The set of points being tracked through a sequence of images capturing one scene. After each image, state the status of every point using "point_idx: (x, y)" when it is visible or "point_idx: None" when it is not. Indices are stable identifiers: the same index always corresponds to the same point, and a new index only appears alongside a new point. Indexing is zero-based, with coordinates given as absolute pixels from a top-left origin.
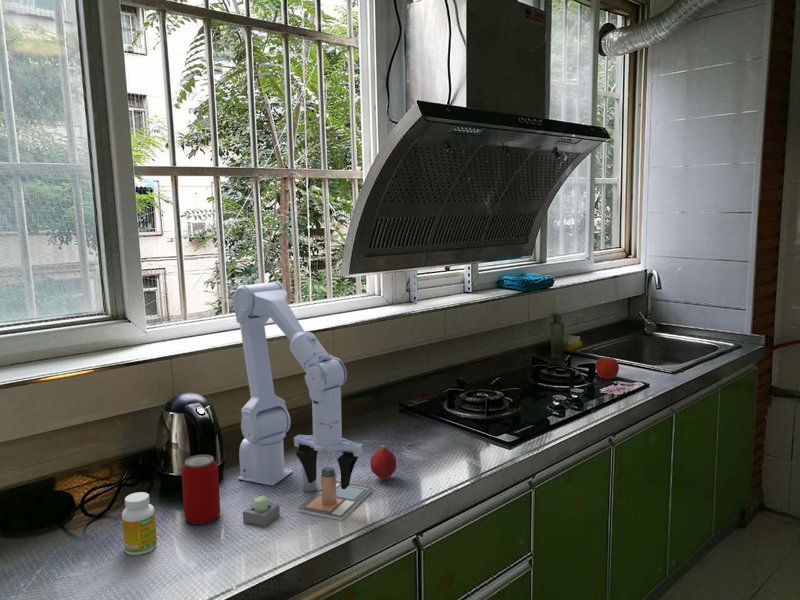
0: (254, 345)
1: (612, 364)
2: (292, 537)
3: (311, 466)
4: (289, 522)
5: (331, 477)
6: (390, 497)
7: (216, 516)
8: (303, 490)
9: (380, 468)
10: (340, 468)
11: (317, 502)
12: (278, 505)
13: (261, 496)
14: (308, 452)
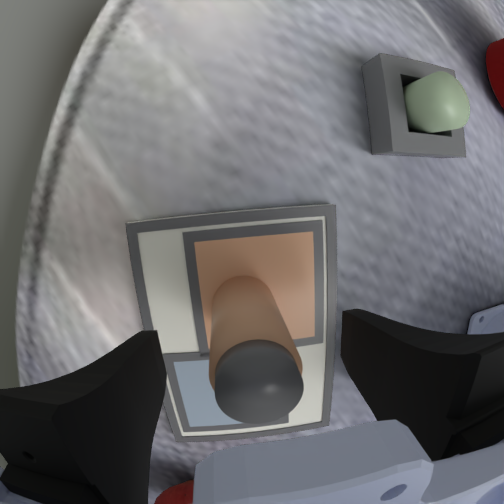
0: None
1: None
2: (228, 39)
3: (382, 370)
4: (307, 119)
5: (214, 353)
6: None
7: (489, 72)
8: None
9: (175, 501)
10: (99, 382)
11: (288, 284)
12: (391, 146)
13: (461, 123)
14: (450, 411)
